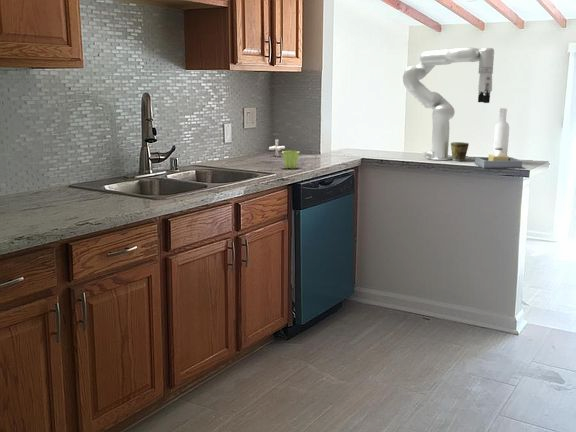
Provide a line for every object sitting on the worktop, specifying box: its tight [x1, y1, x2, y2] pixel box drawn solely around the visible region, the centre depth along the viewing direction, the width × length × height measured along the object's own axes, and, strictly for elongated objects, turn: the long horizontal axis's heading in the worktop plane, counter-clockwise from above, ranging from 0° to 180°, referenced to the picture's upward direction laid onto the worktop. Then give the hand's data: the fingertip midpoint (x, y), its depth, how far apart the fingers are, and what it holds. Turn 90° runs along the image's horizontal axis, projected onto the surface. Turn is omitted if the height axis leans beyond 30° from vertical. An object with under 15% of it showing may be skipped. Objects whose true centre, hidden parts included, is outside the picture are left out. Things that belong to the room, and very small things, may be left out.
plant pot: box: [281, 150, 300, 169], centre depth 331 cm, size 9×9×9 cm
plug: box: [495, 148, 502, 156], centre depth 335 cm, size 4×4×9 cm
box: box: [474, 154, 523, 170], centre depth 335 cm, size 20×16×6 cm
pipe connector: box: [268, 139, 286, 157], centre depth 379 cm, size 10×10×10 cm
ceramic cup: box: [450, 141, 470, 162], centre depth 358 cm, size 13×10×10 cm
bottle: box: [492, 107, 510, 156], centre depth 350 cm, size 8×8×30 cm
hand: (483, 102), depth 347 cm, fingers open, 9 cm apart
